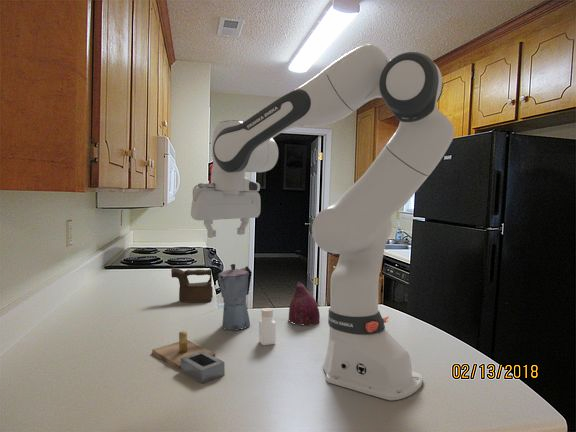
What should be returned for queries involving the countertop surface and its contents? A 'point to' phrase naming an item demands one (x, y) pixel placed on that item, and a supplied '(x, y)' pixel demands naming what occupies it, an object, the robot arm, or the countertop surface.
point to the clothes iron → (193, 286)
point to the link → (202, 366)
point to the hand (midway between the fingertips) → (226, 235)
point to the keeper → (179, 350)
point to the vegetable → (303, 307)
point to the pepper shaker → (267, 327)
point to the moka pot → (235, 297)
